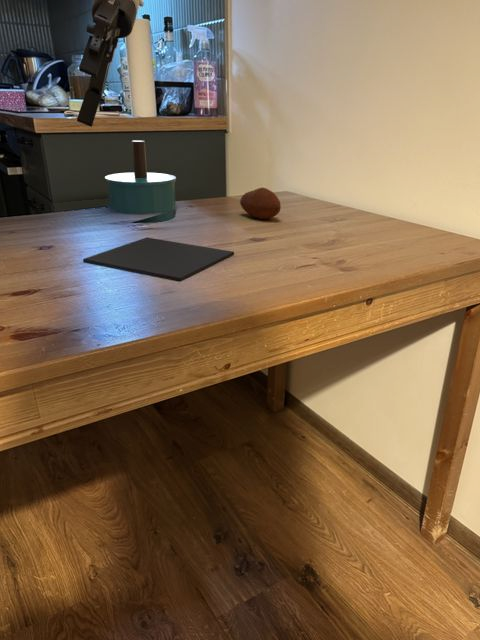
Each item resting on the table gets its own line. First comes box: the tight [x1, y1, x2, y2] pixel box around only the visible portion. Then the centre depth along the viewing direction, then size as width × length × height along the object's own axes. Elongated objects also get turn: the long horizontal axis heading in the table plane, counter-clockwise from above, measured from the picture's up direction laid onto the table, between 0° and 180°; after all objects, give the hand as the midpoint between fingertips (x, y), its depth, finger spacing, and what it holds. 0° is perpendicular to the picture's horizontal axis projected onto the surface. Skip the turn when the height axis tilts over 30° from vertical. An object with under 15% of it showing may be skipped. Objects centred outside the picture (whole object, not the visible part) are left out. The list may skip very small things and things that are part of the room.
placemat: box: [82, 237, 235, 282], centre depth 80 cm, size 18×16×1 cm
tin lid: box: [104, 140, 177, 185], centre depth 103 cm, size 15×15×8 cm
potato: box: [239, 187, 282, 220], centre depth 109 cm, size 6×12×6 cm, turn 47°
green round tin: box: [106, 181, 177, 224], centre depth 106 cm, size 14×14×8 cm
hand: (85, 99), depth 86 cm, fingers open, 13 cm apart
